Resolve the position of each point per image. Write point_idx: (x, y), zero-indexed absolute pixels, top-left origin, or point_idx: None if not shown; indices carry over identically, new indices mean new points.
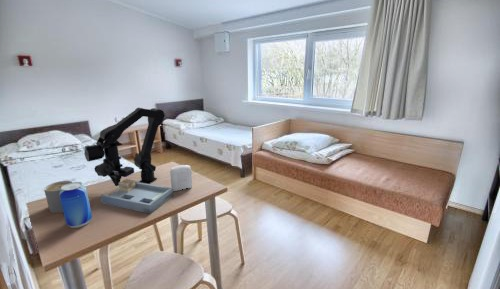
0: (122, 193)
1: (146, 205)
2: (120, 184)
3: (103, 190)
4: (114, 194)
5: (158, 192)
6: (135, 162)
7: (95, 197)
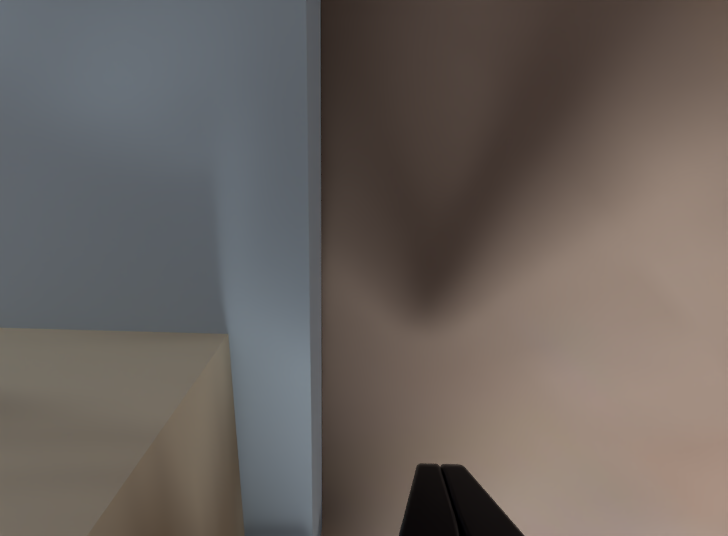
0: (24, 236)
1: None
2: (9, 488)
3: (717, 331)
4: (171, 117)
5: None
6: None
7: (705, 15)
